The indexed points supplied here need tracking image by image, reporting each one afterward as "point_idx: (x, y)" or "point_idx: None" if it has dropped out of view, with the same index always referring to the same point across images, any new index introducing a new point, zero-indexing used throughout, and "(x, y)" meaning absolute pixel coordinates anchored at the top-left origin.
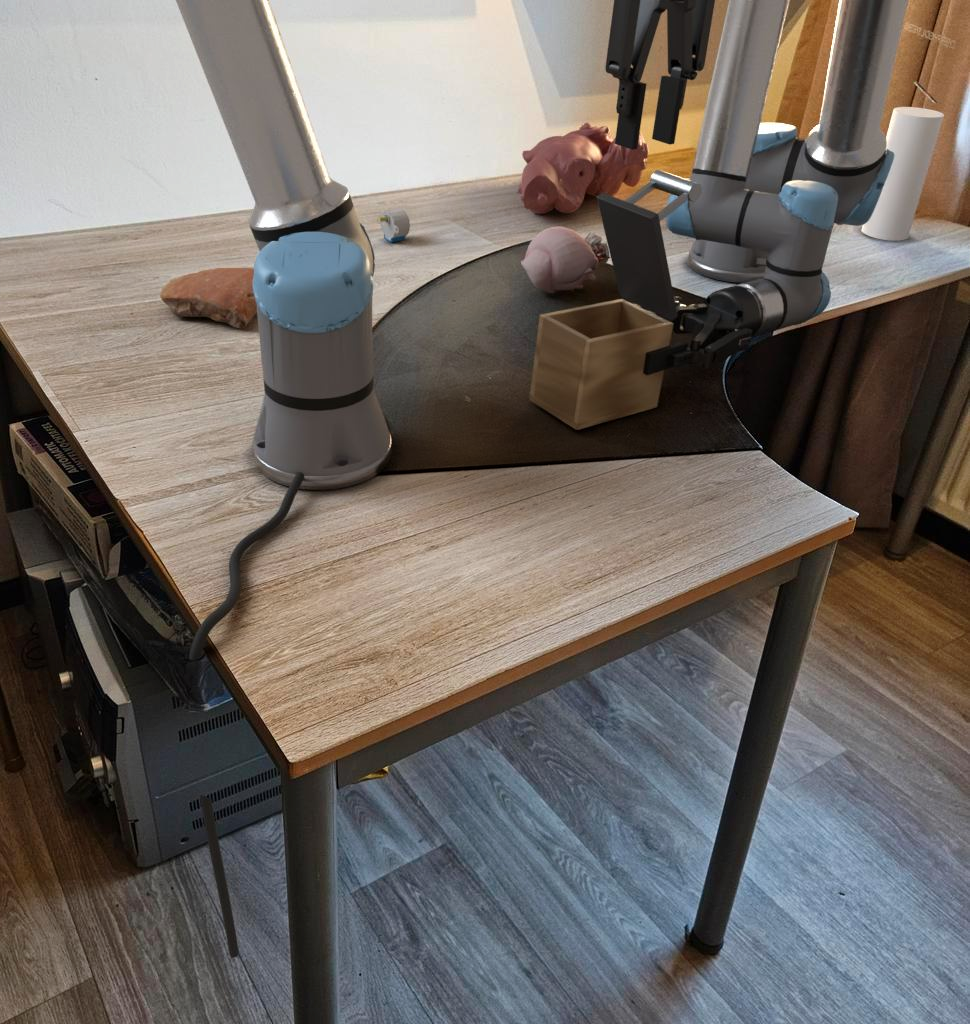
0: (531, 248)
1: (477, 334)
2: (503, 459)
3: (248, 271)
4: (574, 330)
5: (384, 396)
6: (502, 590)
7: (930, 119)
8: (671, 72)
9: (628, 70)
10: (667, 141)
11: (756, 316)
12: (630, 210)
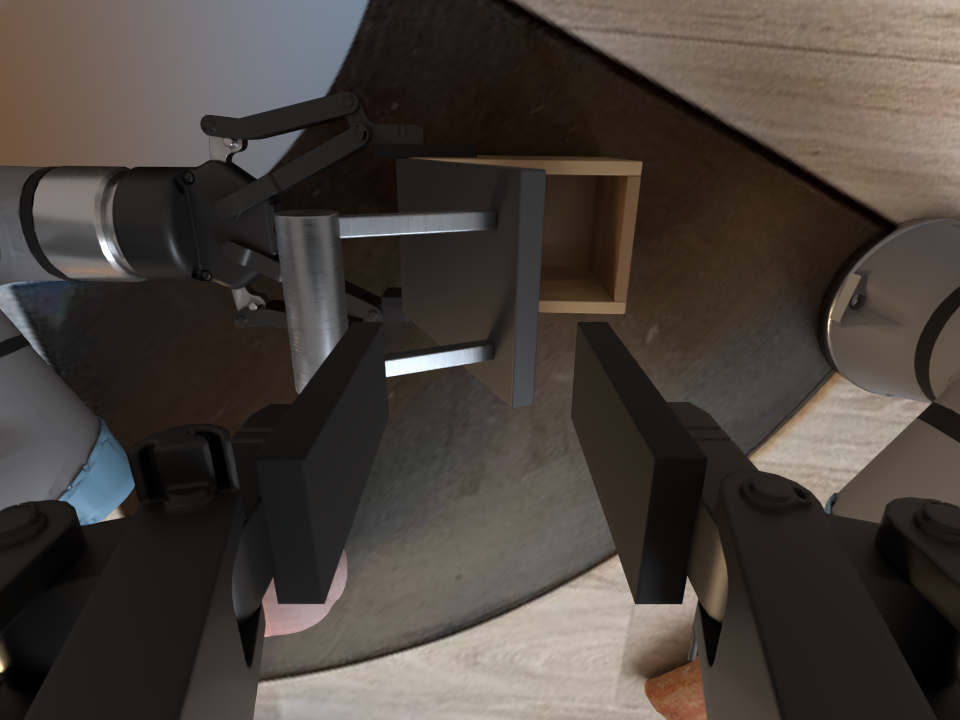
0: (330, 605)
1: (502, 481)
2: (741, 162)
3: (698, 716)
4: (626, 222)
5: (735, 396)
6: None
7: None
8: (264, 590)
9: (936, 523)
10: (382, 337)
11: (140, 169)
12: (540, 266)
